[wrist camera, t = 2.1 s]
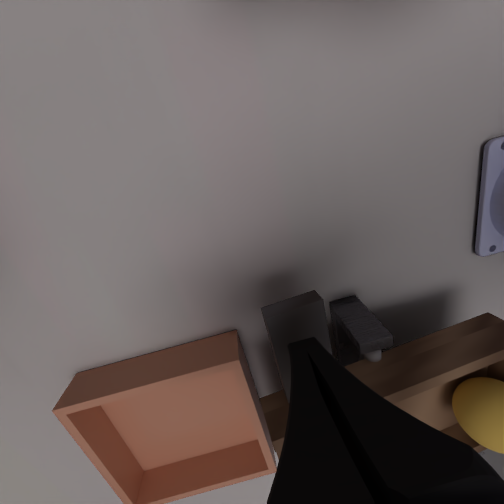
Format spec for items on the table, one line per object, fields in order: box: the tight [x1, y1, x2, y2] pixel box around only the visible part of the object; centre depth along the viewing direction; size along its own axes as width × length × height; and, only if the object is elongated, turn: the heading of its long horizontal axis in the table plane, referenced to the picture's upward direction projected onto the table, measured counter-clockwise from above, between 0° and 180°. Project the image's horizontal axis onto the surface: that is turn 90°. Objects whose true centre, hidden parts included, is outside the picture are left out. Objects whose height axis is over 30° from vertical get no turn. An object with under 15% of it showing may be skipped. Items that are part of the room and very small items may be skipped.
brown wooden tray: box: [260, 290, 504, 459], centre depth 16 cm, size 16×16×3 cm
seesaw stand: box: [329, 295, 393, 366], centre depth 20 cm, size 2×13×5 cm, turn 14°
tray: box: [52, 330, 277, 504], centre depth 20 cm, size 12×12×3 cm
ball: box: [452, 377, 504, 454], centre depth 16 cm, size 4×4×4 cm
